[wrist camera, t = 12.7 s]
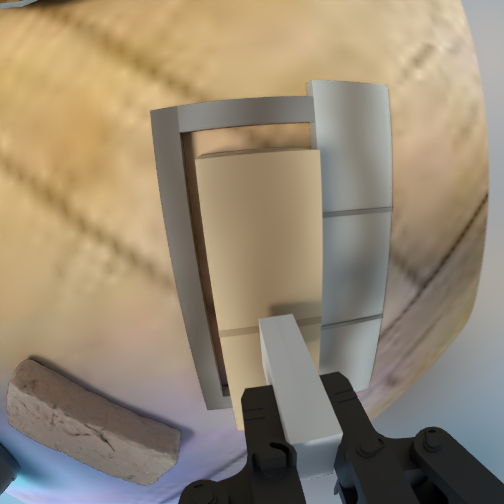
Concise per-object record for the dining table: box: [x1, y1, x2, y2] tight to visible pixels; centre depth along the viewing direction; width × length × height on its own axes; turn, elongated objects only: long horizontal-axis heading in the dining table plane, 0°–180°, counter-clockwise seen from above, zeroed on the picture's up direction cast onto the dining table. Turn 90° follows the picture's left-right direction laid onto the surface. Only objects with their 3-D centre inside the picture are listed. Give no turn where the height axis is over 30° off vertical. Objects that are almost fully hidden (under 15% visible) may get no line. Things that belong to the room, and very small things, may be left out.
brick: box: [7, 360, 181, 486], centre depth 22 cm, size 17×8×5 cm, turn 56°
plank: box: [195, 147, 323, 431], centre depth 17 cm, size 5×16×6 cm, turn 5°
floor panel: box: [150, 80, 393, 410], centre depth 19 cm, size 14×24×1 cm, turn 5°
